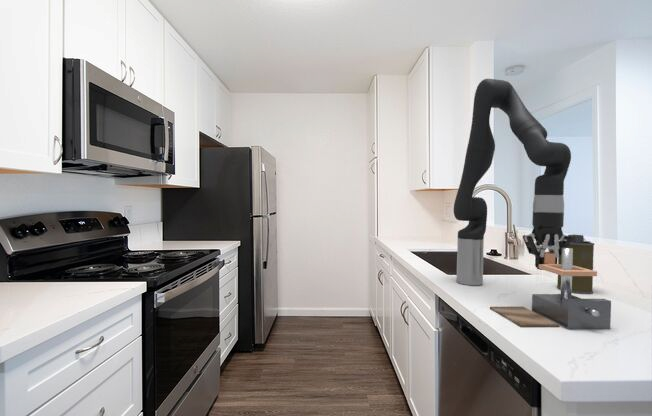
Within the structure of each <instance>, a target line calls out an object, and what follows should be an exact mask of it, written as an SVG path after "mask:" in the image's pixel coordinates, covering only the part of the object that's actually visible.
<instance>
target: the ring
mask: <svg viewBox="0 0 652 416" xmlns="http://www.w3.org/2000/svg"><path fill="white" fill-rule="evenodd" d="M539 269H542V270H541V271H545V272H549V273H552V274H555V275H557V276H558V275H562V276H593V277H597V276H598V271H596V270H594V269H593V270H589V269H585V268H581V267H577V266H573V265H572V270H562V269H561V264H558V263H557V264H555V253H550V252H548V251H545V253H544V264H539ZM539 269H538V270H539Z"/></svg>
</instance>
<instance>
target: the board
mask: <svg viewBox="0 0 652 416" xmlns="http://www.w3.org/2000/svg"><path fill="white" fill-rule="evenodd" d="M489 309H490V310H491V311H493V312H495V313H497V314H498V315H499V316H501V317H503V318H505V319H506V320H508V321H510V322H511V323H513V324H515V325H517V326H518V327H520V328H559V327H560V325H559V324H557V323H555V322H553V321H551V320H549V319H547V318H545V317H543V316H541V315H539V314H537V313H535V312H533V311H532V309H531V310H530V309H529V308H526V307H525V306H489Z"/></svg>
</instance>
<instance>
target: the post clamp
mask: <svg viewBox="0 0 652 416" xmlns="http://www.w3.org/2000/svg"><path fill="white" fill-rule="evenodd" d="M572 262H573V249H572V248H562V259H561V269H562V270H572ZM531 299H532V300H531V301H532V302H531V311H533V312H535V313H537V314H539V315H541V316H543V317H545V318H547V319H549V320H551V321H553V322H555V323H557V324H559V327H562V328H565V329H567V330H611V319H612V301H611V300H609V299H606V298H582V297H578V296H575V295H573V293H572V276H562V275H561V290H560V293H555V294H554V293H532V294H531Z"/></svg>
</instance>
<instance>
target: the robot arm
mask: <svg viewBox="0 0 652 416" xmlns="http://www.w3.org/2000/svg"><path fill="white" fill-rule="evenodd" d="M473 98H474V99H473V108H472V117H471V118H472V119H471V126H470V133H469V138H468V142H467V147H466V151H465V157H464V164H463V169H462V174H461V179H460V182H459V186H458V189H457V193H456V196H455V200H454V202H453V203H454V204H453V216H454V218H455V219H456V221H459V222H460V221H462V222H468V224H467V225H466V226H465V227H463V228H461V229H459V230H458V231H457V251H456V253H457V254H456V256H457V257H456V282H457V283H458V284H461V285H465V286H476V287H477V286H482V285H483V284H484V247H485V246H484V244H485V243H484V239H485V233H486V230H487V221H488V219H487V218H488V205H487V202H486V200H485V199H484V198H482V197H480V196H478V197H477V196H473V195H474V191H475V188H476V186H477V185H478V184H479V182H480V181H481V179H482V178H483V177H484V175H485V174H486V173H487V172H488V171H489V169H490V168H491V166H492V163H493V161H494V156H495V151H496V141H495V138H494V134H493V132H492V129H491V124H490V117H491V111H492V109H500V111H503V112H504V113H505V114H506V115H507V117H508V120H509V121H508V122H509V127H510V130H511V131H512V133H513V134H514V135H515V137H516V138H517V139H518V140H519V142H520V143H521V144H522V145H523V148H524V150H525V152H526V155H527V157H528V160H529V161H531V162H532V163H533V164H534V165H536V166H539V167H545V169H544V172H543V174H541V175H538V176H536V178H535V180H534V192H533V193H534V196H533V203H532V223H531V224H532V231H531V233H529V234H523V236H522V239H523V241H524V244H525V247H526V249H527V252H528V254H530V255H532V256H534V257H535V263H534V264H535V265H534V266H535V267H536V269H537V270H540V271H543V270H542V269H539V264H544V253H545V252H546V250H548V251H547V252H550V253H555V264H558V257H559V256H560V255H562V248H568V246H569V244H570V242H571V240H572V237H571V236H568V235H566V234H564V232H563V229H562V228H563V227H564V221H565V219H564V218H565V217H564V216H565V200H564V199H565V198H564V191H565V188H564V187H565V179H566V177H567V173H568V171H569V168H570V164H571V159H572V152H571V149H570V147H569V146H568V145H567V144H565V143H562V142H554V141H549V140H548V139H547V137H548V131H547V130H546V128H545V127H544V126H543V125H542V123H540V122H539V121H538V119H536V117H535V116H534V115H533V114H532V113H531V112H530V111H529V110H528V109H527V107H526V105H525V104H524V102H523V100H522V99H521V97H520V96H519V94H518V92H517V91H516V89H515V88H514V86H513V85H512V84H511V83H510V82H509V81H507V80H503V79H495V78H485V79H482V80H481V81H480V82H479V83H478V85H477V87H476V90H475V92H474V97H473ZM558 241H559V242H558Z"/></svg>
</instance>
